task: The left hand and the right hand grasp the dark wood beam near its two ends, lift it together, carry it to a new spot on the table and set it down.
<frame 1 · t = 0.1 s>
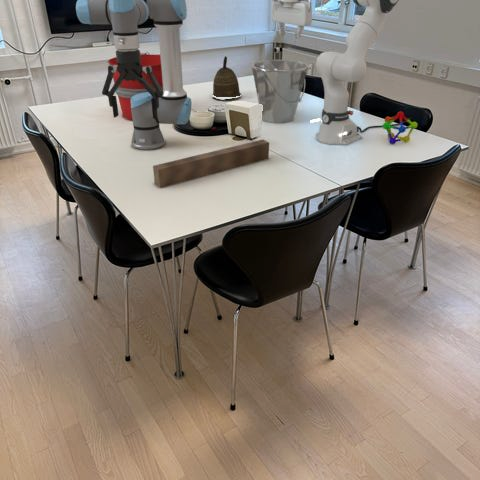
left hand: (135, 117, 150), 28 cm above the table, tool pointing down, fingers open, 13 cm apart
right hand: (289, 36, 174), 48 cm above the table, tool pointing down, fingers open, 8 cm apart
bucket 2: (145, 114, 248), on the table
beam: (215, 170, 182), on the table
bell: (226, 97, 281), on the table
bucket: (277, 118, 244), on the table
educational toy: (395, 143, 211), on the table
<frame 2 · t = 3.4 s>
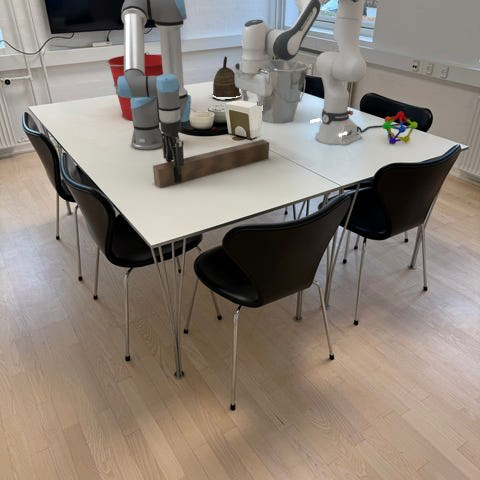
left hand: (175, 179, 172), 1 cm above the table, tool pointing down, fingers closed on beam, 5 cm apart
right hand: (252, 103, 178), 25 cm above the table, tool pointing down, fingers open, 8 cm apart
beam: (215, 170, 182), on the table, touching left hand
everything else where it was.
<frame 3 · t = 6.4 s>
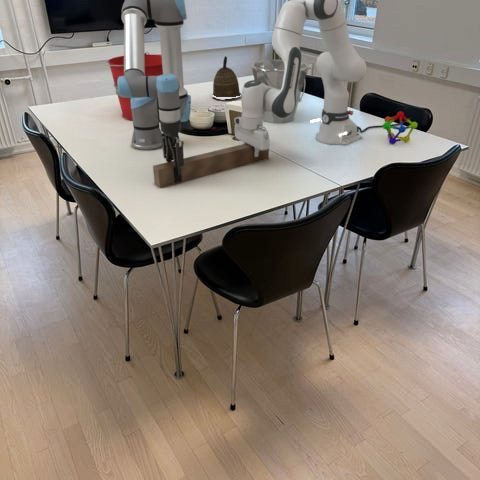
left hand: (175, 179, 172), 1 cm above the table, tool pointing down, fingers closed on beam, 5 cm apart
right hand: (251, 154, 189), 3 cm above the table, tool pointing down, fingers closed on beam, 4 cm apart
beam: (215, 170, 182), on the table, touching left hand, right hand
everything else where it was.
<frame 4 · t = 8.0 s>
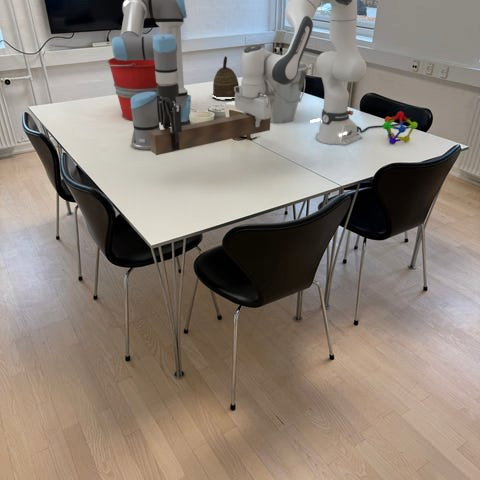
left hand: (172, 147, 166), 14 cm above the table, tool pointing down, fingers closed on beam, 5 cm apart
right hand: (252, 124, 183), 16 cm above the table, tool pointing down, fingers closed on beam, 4 cm apart
beam: (214, 140, 175), point 13 cm above the table, touching left hand, right hand
everything else where it was.
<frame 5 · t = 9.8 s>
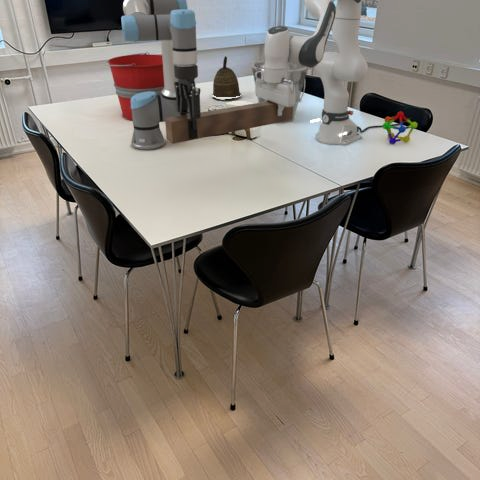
left hand: (189, 136, 152), 22 cm above the table, tool pointing down, fingers closed on beam, 5 cm apart
right hand: (273, 113, 169), 24 cm above the table, tool pointing down, fingers closed on beam, 4 cm apart
beam: (233, 129, 162), point 21 cm above the table, touching left hand, right hand
everything else where it was.
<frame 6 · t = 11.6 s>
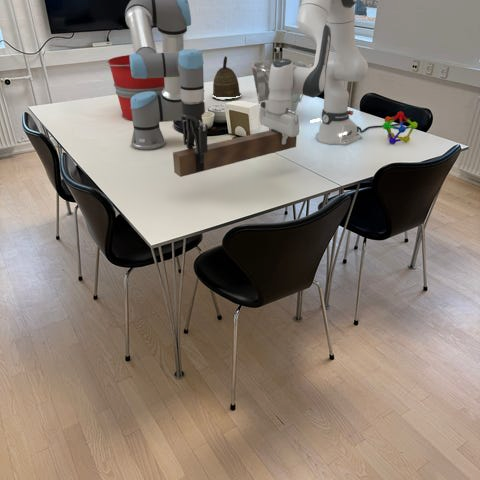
left hand: (196, 168, 156), 11 cm above the table, tool pointing down, fingers closed on beam, 5 cm apart
right hand: (277, 141, 173), 13 cm above the table, tool pointing down, fingers closed on beam, 4 cm apart
beam: (239, 158, 166), point 10 cm above the table, touching left hand, right hand
everything else where it was.
when the left hand's fingers open (1 cm above the table, at t = 13.0 s): beam stays where it is, on the table.
when the right hand's fingers open (4 cm above the table, at t = 13.2 s): beam stays where it is, on the table.
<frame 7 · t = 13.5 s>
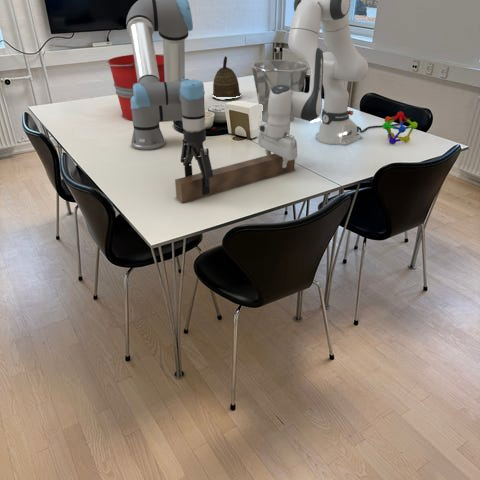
left hand: (197, 188, 160), 3 cm above the table, tool pointing down, fingers open, 11 cm apart
right hand: (276, 163, 178), 4 cm above the table, tool pointing down, fingers open, 7 cm apart
beam: (239, 183, 171), on the table
everything else where it was.
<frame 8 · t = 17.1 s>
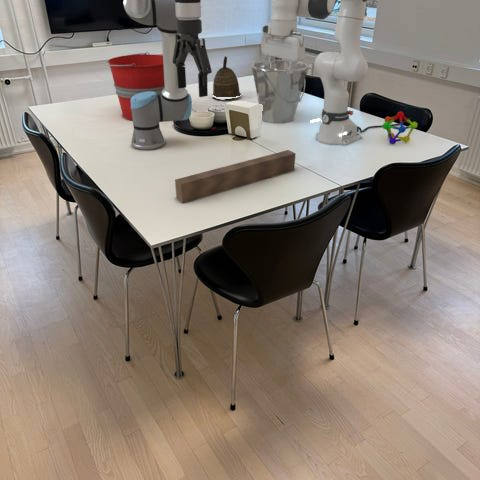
left hand: (192, 92, 142), 37 cm above the table, tool pointing down, fingers open, 13 cm apart
right hand: (281, 71, 159), 39 cm above the table, tool pointing down, fingers open, 8 cm apart
nothing on the table moved.
at the end: beam inside the target area (0.1 cm from its centre), on the table; beam tilted 0°; beam never tilted more than 1° during the clip; both hands held the beam at the same time; the left hand is holding nothing; the right hand is holding nothing; beam at rest at the end (0.0 cm/s) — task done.
